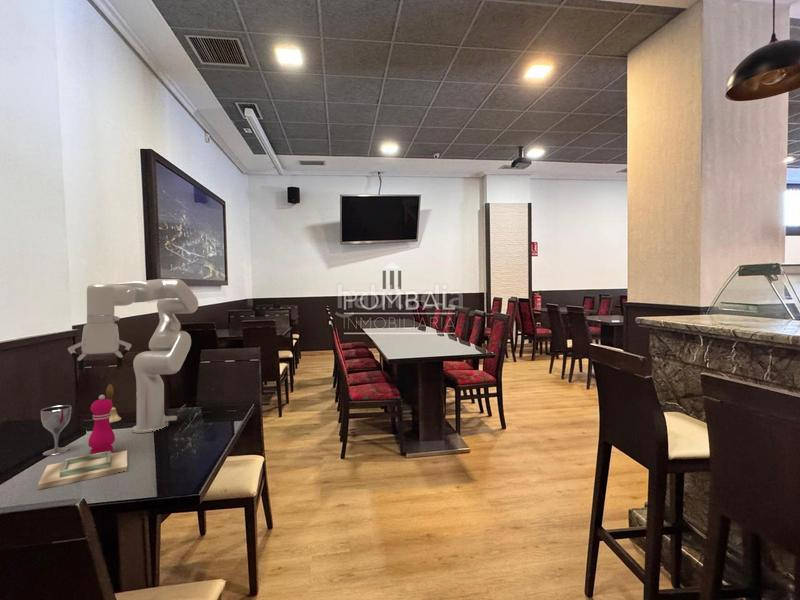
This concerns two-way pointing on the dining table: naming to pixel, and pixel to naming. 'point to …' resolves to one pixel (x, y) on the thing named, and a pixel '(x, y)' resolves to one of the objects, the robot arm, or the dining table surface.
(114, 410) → the hand bell
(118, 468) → the board
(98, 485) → the dining table surface
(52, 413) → the wine glass
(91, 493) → the dining table surface
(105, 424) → the pepper mill
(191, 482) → the dining table surface
